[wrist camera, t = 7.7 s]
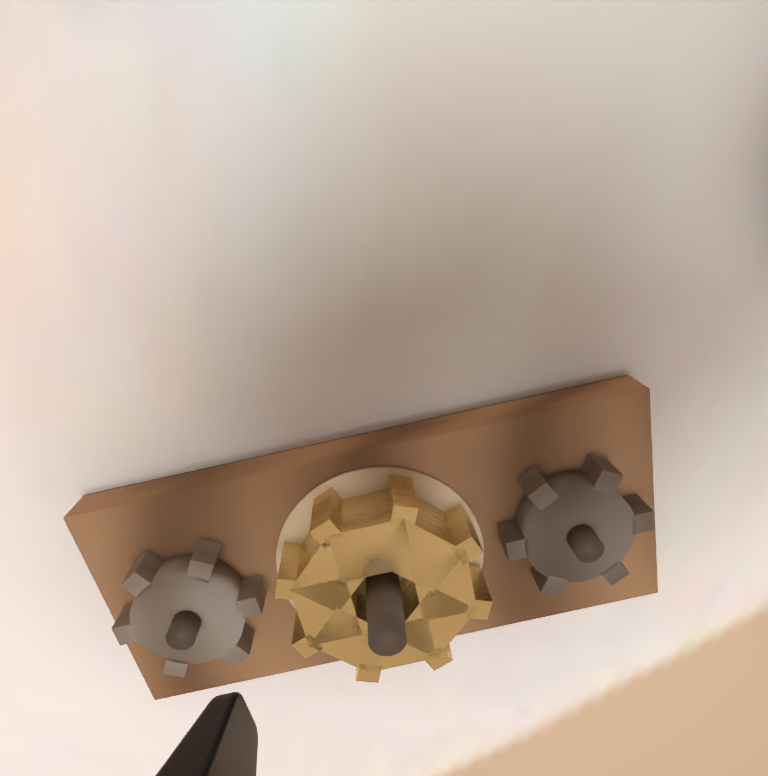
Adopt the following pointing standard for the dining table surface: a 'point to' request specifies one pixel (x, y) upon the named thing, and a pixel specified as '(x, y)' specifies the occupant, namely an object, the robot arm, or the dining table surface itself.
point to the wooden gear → (377, 556)
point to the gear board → (362, 476)
